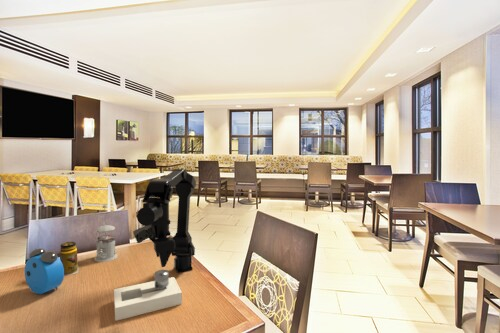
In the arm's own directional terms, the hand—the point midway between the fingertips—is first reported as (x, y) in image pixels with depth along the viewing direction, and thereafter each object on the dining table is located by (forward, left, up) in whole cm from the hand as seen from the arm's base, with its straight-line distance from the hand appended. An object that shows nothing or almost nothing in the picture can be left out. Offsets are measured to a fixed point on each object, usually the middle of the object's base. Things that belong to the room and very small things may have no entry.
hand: (160, 261), depth 93 cm
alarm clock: (+37, -23, -13) cm, 45 cm away
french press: (+18, -47, -13) cm, 52 cm away
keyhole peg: (0, +1, -13) cm, 13 cm away
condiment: (+32, -37, -13) cm, 50 cm away
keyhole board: (+5, +1, -13) cm, 14 cm away
